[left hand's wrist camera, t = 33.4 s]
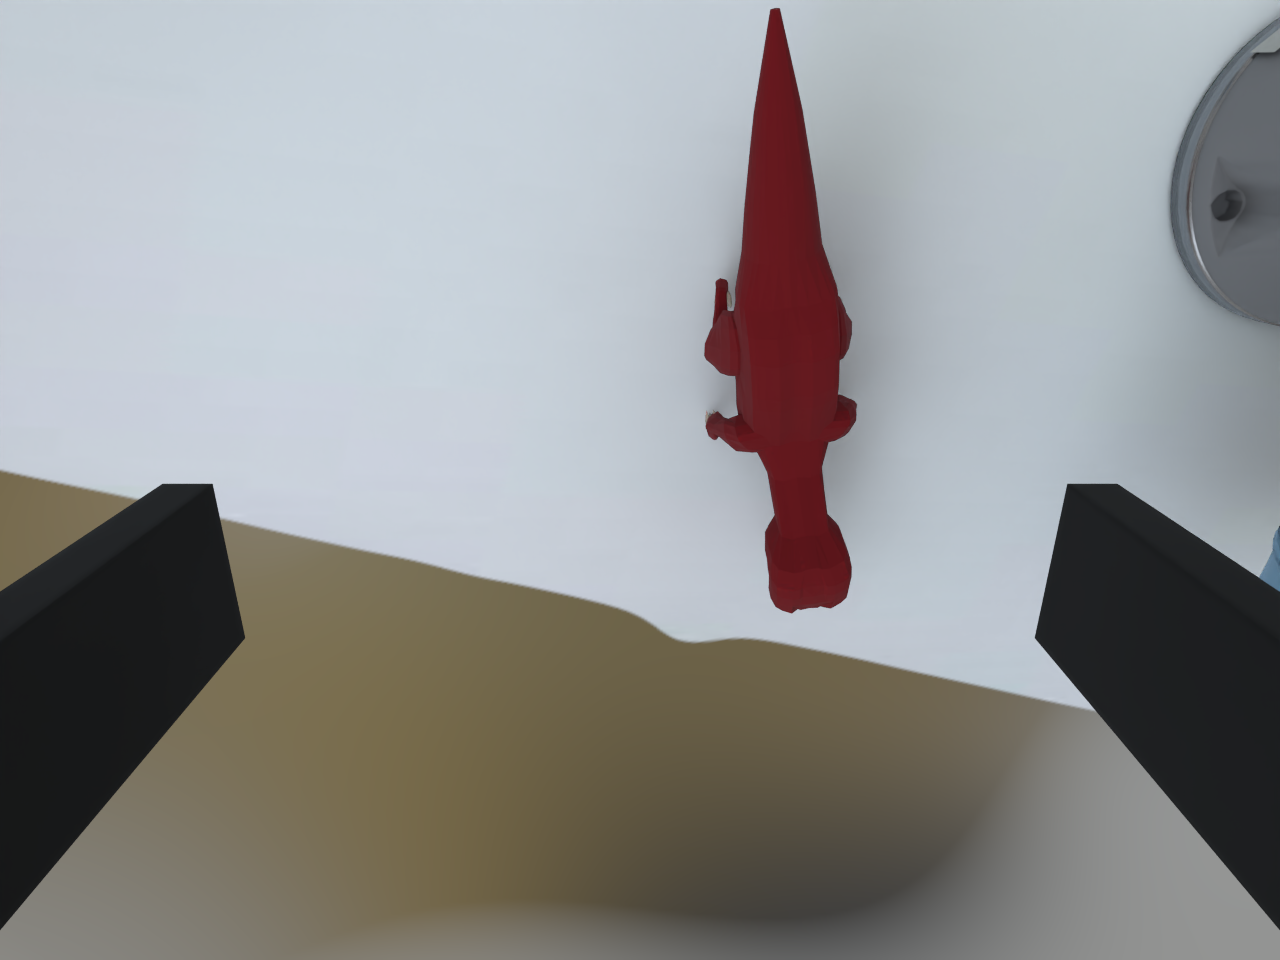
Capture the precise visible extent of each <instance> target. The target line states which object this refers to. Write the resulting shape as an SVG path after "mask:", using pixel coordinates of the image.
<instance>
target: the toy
mask: <svg viewBox="0 0 1280 960" xmlns="http://www.w3.org/2000/svg"><path fill="white" fill-rule="evenodd" d="M735 295H736V301H735V307H734V311H728V310H727V304H728V306H729V307H730V308H731V306H732V300H731V294H730V293H729V291H728V282H727V280H725V279H721V278H720V279H718V280H717V281H716V295H715V310H714V318H713V327H712V328H711V330H710V333H709V335H708V338H707V340H706V342H705V353H704V356H705V358H706V360H707V361H709V362H710V363H711V364H712V365H713V366H714V367H715V368H716V369H717V370H718V371H719V372H720V373H722V374H725V375H728V376H735V377H736V402H737V410H738V415H737V416H735V417H732V418H729V419H727V418H724V417H723V416H722V415H721V414H720V413H719V412H718V411H717V412H716V413H715V412H714V410H713V414H712V415H711V414H710V415H708V413H707V410H706V420H705V422H706V429H707V432H708V435H709V437H711V438H712V439H713V440H716V439H717V438H718V437H720V438H721V439H723V440H724V441H725V442H726V443H727V444H729V445H730V446H731V447H732V448H733V449H734V450H736V451H742V452H757V453H758V455H759V456H760V458H761V460H762V462H763V464H764V467H765V469H766V471H767V473H768V479H769V484H770V490H771V496H772V502H773V508H774V514H775V515H774V517H773V519H772V520H771V522H770V524H769V525H768V528H767V530H766V531H765V552H766V556H767V564H768V572H769V592H770V597H771V599H772V601H773V603H774V605H775V606H776V607H777V608H779V609H780V610H782V611H786V612H789V613H793V612H794V611H796V610H797V609H800V610H802V609H807V608H818V607H820V606H822V607H826V608H832V607H834V606H836V605H838V604H839V603H841V602H842V601H843V600H844V599H845V598H846V597H847V593H848V589H849V585H850V581H851V572H852V567H851V562H850V557H849V554H848V550H847V547H846V545H845V542H844V539H843V536H842V534H841V531H840V528H839V526H838V525H837V523H836V522H835V521H834V520H833V519H832V518H831V517H830V516H829V515H828V514H827V509H826V501H825V493H824V484H823V474H822V464H823V461H824V457H825V453H826V449H827V446H828V442H831V441H835V440H837V439H839V438H841V437H843V436H845V435H846V434H847V433H848V432H849V431H850V429H851V427H852V426H853V424H854V423H855V421H856V408H857V404H856V403H855V401H853V400H851V399H849V398H847V397H844V396H842V395H838V387H839V360H840V359H843V358H844V356H845V354H846V352H847V350H848V349H849V344H850V340H851V335H852V321H851V320H850V318H849V317H848V315H847V314H846V311H845V307H844V305H843V303H842V301H841V298H840V297H839V296H838V290H837V286H836V283H835V280H834V277H833V274H832V271H831V268H830V265H829V263H828V260H827V257H826V254H825V251H824V248H823V245H822V239H821V231H820V223H819V215H818V207H817V198H816V191H815V185H814V179H813V173H812V166H811V160H810V154H809V148H808V141H807V135H806V129H805V123H804V116H803V110H802V105H801V101H800V96H799V92H798V87H797V83H796V78H795V74H794V70H793V65H792V61H791V56H790V52H789V47H788V43H787V38H786V34H785V30H784V25H783V21H782V16H781V12H780V8H774V9H771V10H770V15H769V21H768V28H767V34H766V40H765V46H764V53H763V59H762V65H761V71H760V78H759V84H758V90H757V96H756V103H755V109H754V116H753V126H752V135H751V145H750V155H749V165H748V176H747V186H746V197H745V208H744V223H743V238H742V252H741V258H740V264H739V270H738V276H737V282H736V288H735Z"/></svg>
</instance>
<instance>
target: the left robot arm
mask: <svg viewBox="0 0 1280 960" xmlns="http://www.w3.org/2000/svg"><path fill="white" fill-rule="evenodd" d="M1171 215H1172V226H1173V231H1174V236H1175V241H1176V244H1177V247H1178V250H1179V253H1180V256H1181V258H1182V260H1183V262H1184V265H1185V267H1186V268H1187V270H1188V272H1189V273H1190V275H1191V277H1192V278H1193V279H1194V281H1195V282H1196V283H1197V284H1198V286H1199V287H1200V288H1201V289H1202V290H1203V291H1204V292H1205V293H1206V294H1207V295H1208V296H1209V297H1210V298H1212V299H1213V300H1214V301H1215V302H1217V303H1218V304H1219V305H1221V306H1223V307H1225V308H1226V309H1228V310H1230V311H1232V312H1234V313H1236V314H1238V315H1241V316H1243V317H1247V318H1250V319H1253V320H1257V321H1261V322H1265V323H1269V324H1273V325H1277V326H1280V18H1279V19H1277V20H1276V21H1274V22H1273V23H1271V24H1270V25H1269V26H1268V27H1266V28H1265V29H1264V30H1263V31H1261V32H1260V33H1259V34H1257V35H1256V36H1255V37H1254V38H1253V39H1252V40H1251V41H1250V42H1249V43H1248V44H1247V45H1245V46H1244V47H1243V48H1242V49H1241V50H1240V51H1239V53H1238V54H1237V55H1236V56H1235V57H1234V58H1233V59H1232V60H1231V61H1230V62H1229V63H1228V65H1227V66H1226V67H1225V68H1224V70H1223V71H1222V72H1221V73H1220V75H1219V76H1218V77H1217V78H1216V80H1215V81H1214V83H1213V84H1212V86H1211V87H1210V89H1209V90H1208V91H1207V93H1206V94H1205V96H1204V98H1203V100H1202V101H1201V103H1200V105H1199V106H1198V108H1197V110H1196V112H1195V114H1194V116H1193V118H1192V120H1191V122H1190V124H1189V126H1188V129H1187V131H1186V134H1185V137H1184V139H1183V142H1182V144H1181V148H1180V151H1179V154H1178V158H1177V161H1176V166H1175V171H1174V176H1173V184H1172V192H1171ZM244 639H245V635H244V630H243V625H242V621H241V616H240V611H239V606H238V602H237V597H236V593H235V588H234V583H233V578H232V573H231V569H230V564H229V559H228V555H227V550H226V545H225V541H224V536H223V531H222V526H221V521H220V517H219V512H218V507H217V503H216V498H215V493H214V488H213V484H162V485H160V486H159V487H157V488H156V489H154V490H153V491H151V492H150V493H148V494H147V495H145V496H144V497H142V498H141V499H139V500H138V501H136V502H135V503H133V504H132V505H130V506H129V507H127V508H126V509H124V510H123V511H121V512H120V513H118V514H117V515H115V516H114V517H112V518H111V519H109V520H107V521H106V522H105V523H103V524H102V525H100V526H98V527H97V528H95V529H94V530H92V531H91V532H89V533H88V534H86V535H85V536H83V537H82V538H80V539H79V540H77V541H76V542H74V543H73V544H71V545H70V546H68V547H67V548H65V549H64V550H62V551H61V552H59V553H58V554H56V555H55V556H53V557H52V558H50V559H49V560H47V561H46V562H44V563H43V564H41V565H40V566H38V567H37V568H35V569H34V570H32V571H31V572H29V573H28V574H26V575H25V576H23V577H22V578H20V579H19V580H17V581H16V582H14V583H13V584H11V585H10V586H8V587H6V588H5V589H4V590H2V591H0V930H1V928H2V927H3V926H4V925H5V924H6V922H7V921H8V920H9V919H10V918H11V917H12V915H13V914H14V913H15V912H16V911H17V909H18V908H19V907H20V906H21V905H22V903H23V902H24V901H25V900H26V899H27V897H28V896H29V895H30V894H31V893H32V891H33V890H34V889H35V888H36V887H37V886H38V884H39V883H40V882H41V881H42V880H43V878H44V877H45V876H46V875H47V874H48V872H49V871H50V870H51V869H52V868H53V866H54V865H55V864H56V863H57V862H58V861H59V859H60V858H61V857H62V856H63V855H64V853H65V852H66V851H67V850H68V849H69V847H70V846H71V845H72V844H73V843H74V841H75V840H76V839H77V838H78V837H79V835H80V834H81V833H82V832H83V831H84V830H85V828H86V827H87V826H88V825H89V824H90V822H91V821H92V820H93V819H94V818H95V816H96V815H97V814H98V813H99V812H100V810H101V809H102V808H103V807H104V806H105V804H106V803H107V802H108V801H109V800H110V799H111V797H112V796H113V795H114V794H115V793H116V791H117V790H118V789H119V788H120V787H121V785H122V784H123V783H124V782H125V781H126V779H127V778H128V777H129V776H130V775H131V773H132V772H133V771H134V770H135V769H136V768H137V766H138V765H139V764H140V763H141V762H142V760H143V759H144V758H145V757H146V756H147V754H148V753H149V752H150V751H151V750H152V748H153V747H154V746H155V745H156V744H157V742H158V741H159V740H160V739H161V738H162V737H163V735H164V734H165V733H166V732H167V730H168V729H169V728H170V727H171V726H172V725H173V723H174V722H175V721H176V720H177V719H178V717H179V716H180V715H181V714H182V713H183V711H184V710H185V709H186V708H187V707H188V706H189V704H190V703H191V702H192V701H193V700H194V698H195V697H196V696H197V695H198V694H199V692H200V691H201V690H202V689H203V688H204V686H205V685H206V684H207V683H208V682H209V680H210V679H211V678H212V677H213V676H214V675H215V673H216V672H217V671H218V670H219V668H220V667H221V666H222V665H223V664H224V663H225V661H226V660H227V659H228V658H229V657H230V655H231V654H232V653H233V652H234V651H235V650H236V648H237V647H238V646H239V645H240V644H241V642H242V641H243V640H244ZM1035 639H1036V640H1037V641H1038V642H1039V644H1040V645H1041V646H1042V647H1043V648H1044V650H1045V651H1046V652H1047V653H1048V654H1049V655H1050V657H1051V658H1052V659H1053V660H1054V661H1055V663H1056V664H1057V665H1058V666H1059V667H1060V669H1061V670H1062V671H1063V672H1064V673H1065V675H1066V676H1067V677H1068V678H1069V679H1070V680H1071V682H1072V683H1073V684H1074V685H1075V686H1076V688H1077V689H1078V690H1079V691H1080V692H1081V694H1082V695H1083V696H1084V697H1085V698H1086V700H1087V701H1088V702H1089V703H1090V704H1091V706H1092V707H1093V708H1094V709H1095V710H1096V711H1097V713H1098V714H1099V715H1100V716H1101V717H1102V719H1103V720H1104V721H1105V722H1106V723H1107V725H1108V726H1109V727H1110V728H1111V729H1112V731H1113V732H1114V733H1115V734H1116V735H1117V736H1118V738H1119V739H1120V740H1121V741H1122V742H1123V744H1124V745H1125V746H1126V747H1127V748H1128V750H1129V751H1130V752H1131V753H1132V754H1133V756H1134V757H1135V758H1136V759H1137V760H1138V762H1139V763H1140V764H1141V765H1142V766H1143V768H1144V769H1145V770H1146V771H1147V772H1148V773H1149V775H1150V776H1151V777H1152V778H1153V779H1154V781H1155V782H1156V783H1157V784H1158V785H1159V787H1160V788H1161V789H1162V790H1163V791H1164V793H1165V794H1166V795H1167V796H1168V797H1169V798H1170V800H1171V801H1172V802H1173V803H1174V804H1175V806H1176V807H1177V808H1178V809H1179V810H1180V812H1181V813H1182V814H1183V815H1184V816H1185V817H1186V819H1187V820H1188V821H1189V822H1190V824H1191V825H1192V826H1193V827H1194V828H1195V830H1196V831H1197V832H1198V833H1199V834H1200V835H1201V837H1202V838H1203V839H1204V840H1205V841H1206V843H1207V844H1208V845H1209V846H1210V847H1211V849H1212V850H1213V851H1214V852H1215V853H1216V855H1217V856H1218V857H1219V858H1220V859H1221V861H1222V862H1223V863H1224V864H1225V865H1226V866H1227V868H1228V869H1229V870H1230V871H1231V872H1232V874H1233V875H1234V876H1235V877H1236V878H1237V880H1238V881H1239V882H1240V883H1241V884H1242V886H1243V887H1244V888H1245V889H1246V890H1247V891H1248V893H1249V894H1250V895H1251V896H1252V897H1253V899H1254V900H1255V901H1256V902H1257V903H1258V905H1259V906H1260V907H1261V908H1262V909H1263V911H1264V912H1265V913H1266V914H1267V915H1268V917H1269V918H1270V919H1271V920H1272V921H1273V922H1274V924H1275V925H1276V926H1277V927H1278V928H1279V930H1280V526H1279V528H1278V530H1277V531H1276V532H1275V535H1274V539H1273V551H1272V553H1271V555H1270V558H1269V560H1268V562H1267V564H1266V566H1265V568H1264V570H1263V571H1262V573H1261V575H1260V577H1259V578H1258V577H1257V576H1255V575H1254V574H1252V573H1251V572H1249V571H1248V570H1246V569H1245V568H1243V567H1242V566H1240V565H1239V564H1237V563H1236V562H1234V561H1233V560H1231V559H1230V558H1228V557H1227V556H1225V555H1224V554H1222V553H1221V552H1219V551H1218V550H1216V549H1215V548H1213V547H1212V546H1210V545H1209V544H1207V543H1206V542H1204V541H1203V540H1201V539H1200V538H1198V537H1197V536H1195V535H1194V534H1192V533H1191V532H1189V531H1188V530H1186V529H1185V528H1183V527H1182V526H1180V525H1179V524H1177V523H1176V522H1174V521H1173V520H1171V519H1170V518H1168V517H1166V516H1165V515H1163V514H1162V513H1160V512H1159V511H1157V510H1156V509H1154V508H1153V507H1151V506H1150V505H1148V504H1147V503H1145V502H1144V501H1142V500H1141V499H1139V498H1138V497H1136V496H1135V495H1133V494H1132V493H1130V492H1129V491H1127V490H1126V489H1124V488H1123V487H1121V486H1120V485H1118V484H1067V488H1066V493H1065V498H1064V503H1063V507H1062V512H1061V517H1060V521H1059V526H1058V531H1057V536H1056V540H1055V545H1054V550H1053V555H1052V559H1051V564H1050V569H1049V573H1048V578H1047V583H1046V588H1045V592H1044V597H1043V602H1042V606H1041V611H1040V616H1039V621H1038V625H1037V630H1036V635H1035Z"/></svg>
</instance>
